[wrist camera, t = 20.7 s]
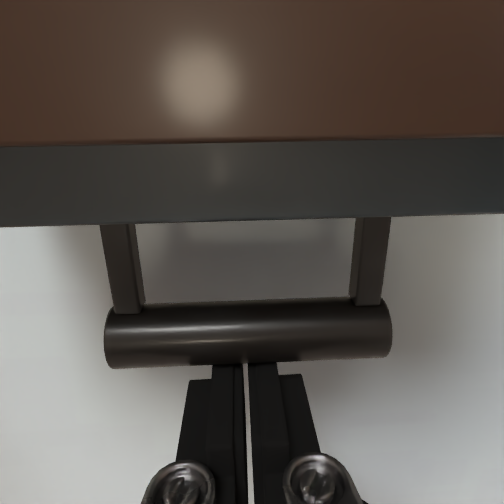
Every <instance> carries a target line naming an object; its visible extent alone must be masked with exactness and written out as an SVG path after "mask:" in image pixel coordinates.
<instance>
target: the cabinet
mask: <svg viewBox="0 0 504 504" xmlns="http://www.w3.org/2000/svg"><path fill="white" fill-rule="evenodd" d="M459 138H504V0H0V147H42V146H94V145H147V144H199V143H251V142H303V141H355V140H407V139H459Z"/></svg>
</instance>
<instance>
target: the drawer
mask: <svg viewBox="0 0 504 504" xmlns="http://www.w3.org/2000/svg"><path fill="white" fill-rule="evenodd" d="M475 214H504V138H459V139H407V140H355V141H303V142H251V143H199V144H147V145H94V146H42V147H0V227H35V226H71V225H99V226H100V232H101V237H102V243H103V249H104V254H105V260H106V266H107V271H108V277H109V283H110V288H111V294H112V300H113V305H114V306H113V307H112V308H111V309H110V311H109V313H108V315H107V319H106V323H105V329H104V352H105V357H106V361H107V363H108V365H109V367H110V368H112V369H125V368H149V367H173V366H197V365H221V364H245V363H269V362H293V361H316V360H340V359H364V358H384V357H386V356H387V355H388V354H389V352H390V349H391V345H392V323H391V318H390V314H389V310H388V307H387V305H386V303H385V301H384V300H383V299H382V298H381V292H382V284H383V277H384V269H385V262H386V254H387V247H388V239H389V232H390V224H391V217H402V216H439V215H475ZM329 218H356V221H355V232H354V242H353V253H352V263H351V274H350V284H349V296H350V297H323V298H295V299H267V300H239V301H210V302H182V303H154V304H144V303H145V301H146V300H145V293H144V286H143V279H142V271H141V264H140V257H139V250H138V242H137V235H136V228H135V224H145V223H182V222H218V221H255V220H292V219H329Z"/></svg>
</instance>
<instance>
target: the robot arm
mask: <svg viewBox="0 0 504 504" xmlns="http://www.w3.org/2000/svg"><path fill="white" fill-rule="evenodd" d="M248 381H249V402H250V423H251V444H252V464H253V484H254V503H255V504H368V503H366V502H365V501H363V500H362V499H361V498H360V495H359V493H358V491H357V489H356V487H355V485H354V483H353V481H352V478H351V476H350V474H349V473H348V471H347V470H346V468H345V467H344V466H343V465H342V464H341V463H340V462H339V461H338V460H337V459H335V458H333V457H331V456H329V455H327V454H324V453H321V452H320V448H319V444H318V440H317V435H316V431H315V427H314V423H313V419H312V415H311V411H310V407H309V403H308V398H307V394H306V390H305V386H304V382H303V378H302V375H301V374H290V375H278V369H277V362H269V363H248ZM141 504H248V477H247V445H246V414H245V395H244V377H243V364H221V365H213V367H212V378H211V379H201V380H190V381H189V385H188V390H187V396H186V402H185V408H184V414H183V420H182V426H181V432H180V438H179V444H178V450H177V456H176V462H173V463H170V464H168V465H167V466H165V467H164V468H162V469H161V470H159V471H158V473H157V474H156V475H155V476H154V477H153V478H152V479H151V481H150V483H149V485H148V487H147V489H146V491H145V494H144V497H143V499H142V502H141Z"/></svg>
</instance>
